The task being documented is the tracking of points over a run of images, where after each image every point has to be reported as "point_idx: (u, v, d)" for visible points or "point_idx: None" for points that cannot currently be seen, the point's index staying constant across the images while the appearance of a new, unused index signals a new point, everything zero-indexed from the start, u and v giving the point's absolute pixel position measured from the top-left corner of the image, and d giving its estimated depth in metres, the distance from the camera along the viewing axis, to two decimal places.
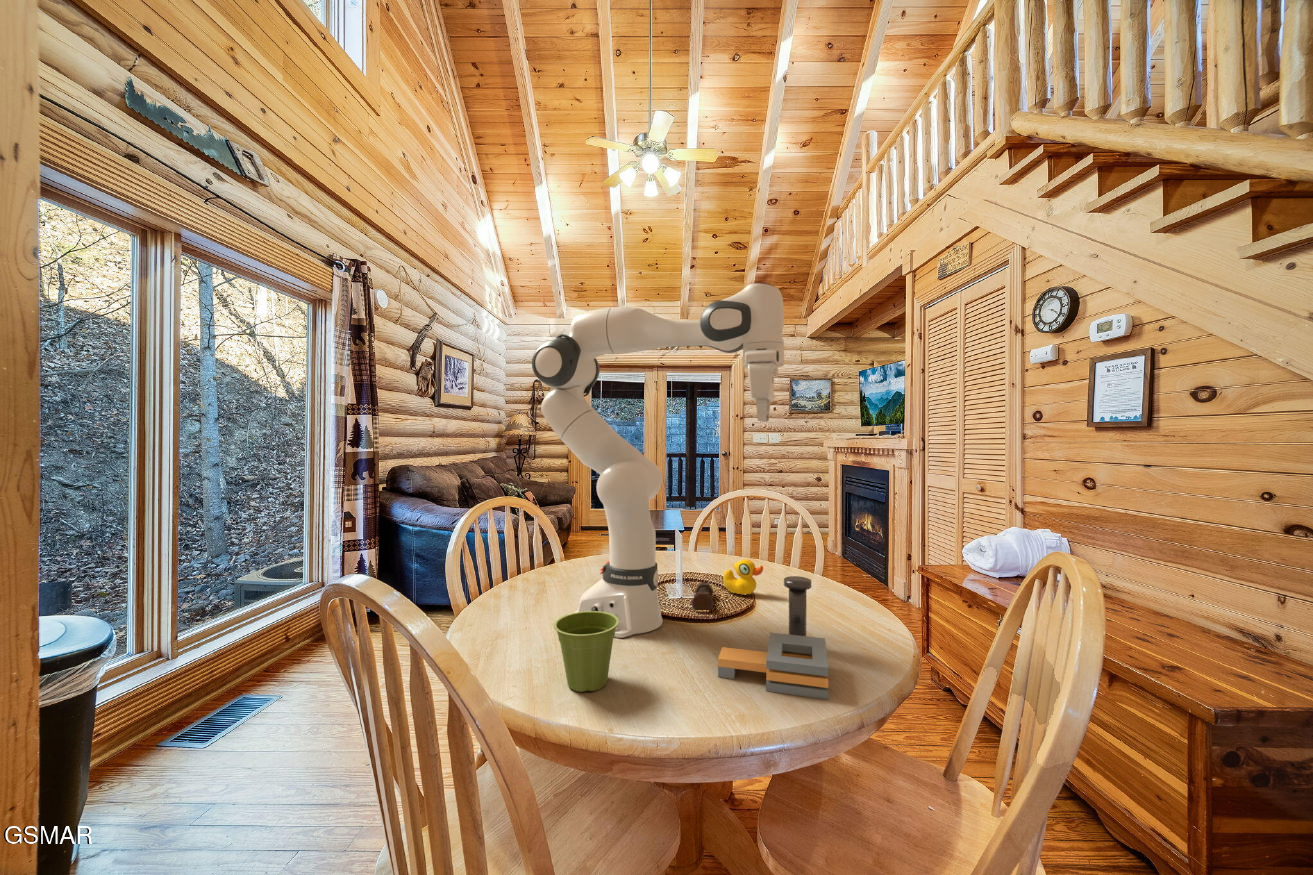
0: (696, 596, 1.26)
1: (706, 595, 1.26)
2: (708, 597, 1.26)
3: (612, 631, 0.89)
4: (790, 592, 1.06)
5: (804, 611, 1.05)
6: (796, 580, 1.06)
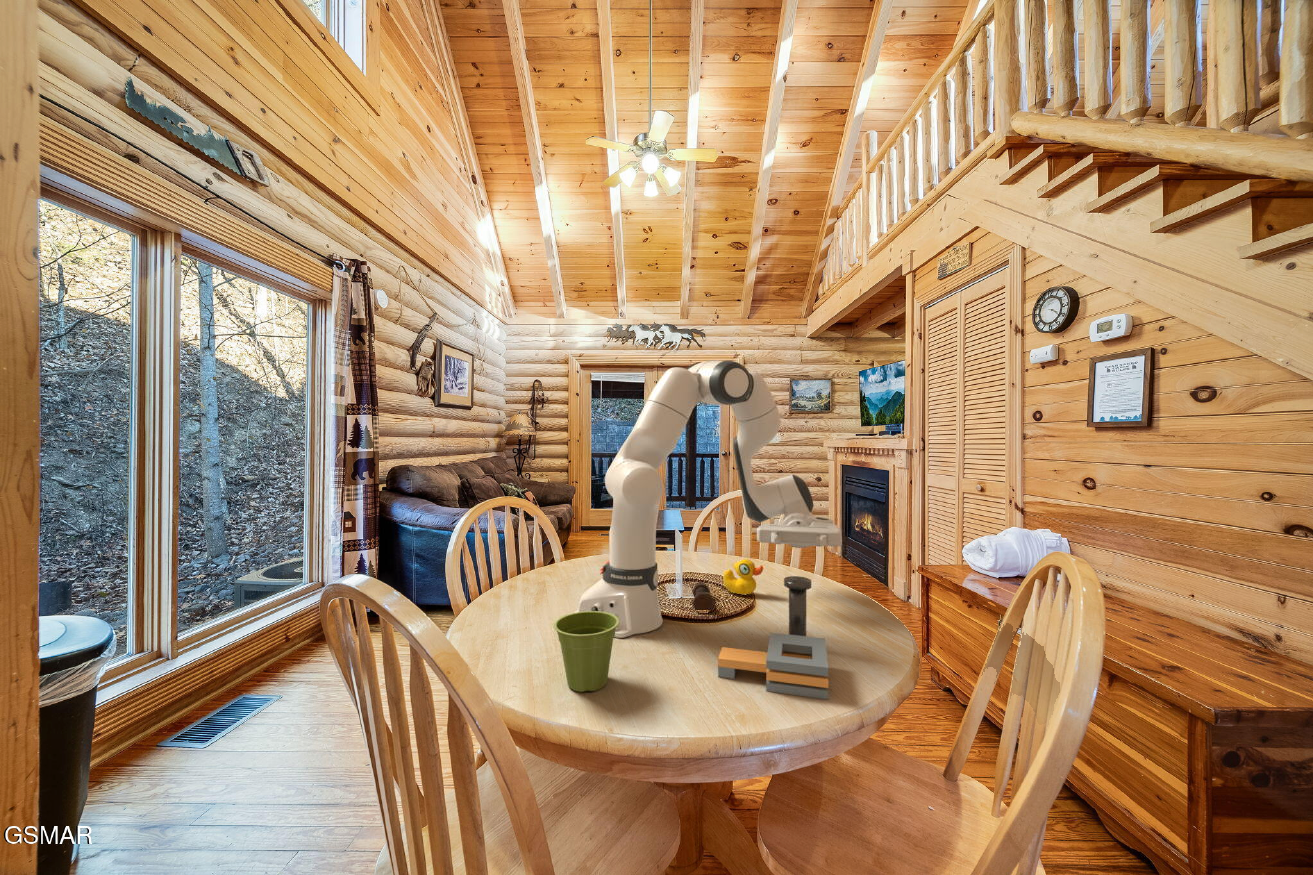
0: (697, 596, 1.26)
1: (707, 595, 1.26)
2: (709, 597, 1.26)
3: (612, 631, 0.89)
4: (790, 592, 1.06)
5: (804, 611, 1.05)
6: (796, 580, 1.06)
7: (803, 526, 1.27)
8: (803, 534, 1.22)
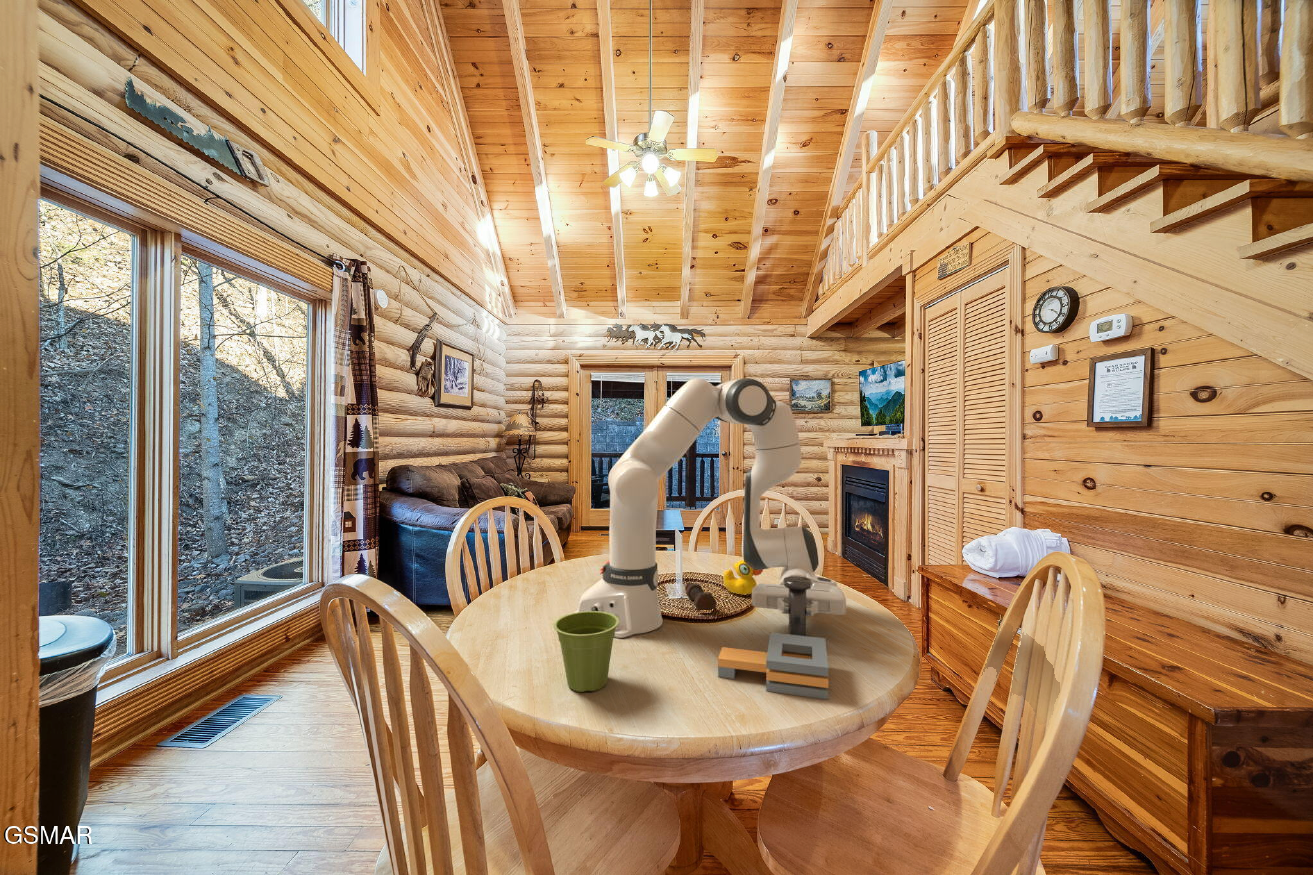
0: (700, 597, 1.25)
1: (709, 595, 1.26)
2: (711, 597, 1.26)
3: (612, 631, 0.89)
4: (790, 592, 1.06)
5: (804, 611, 1.05)
6: (795, 580, 1.06)
7: None
8: None
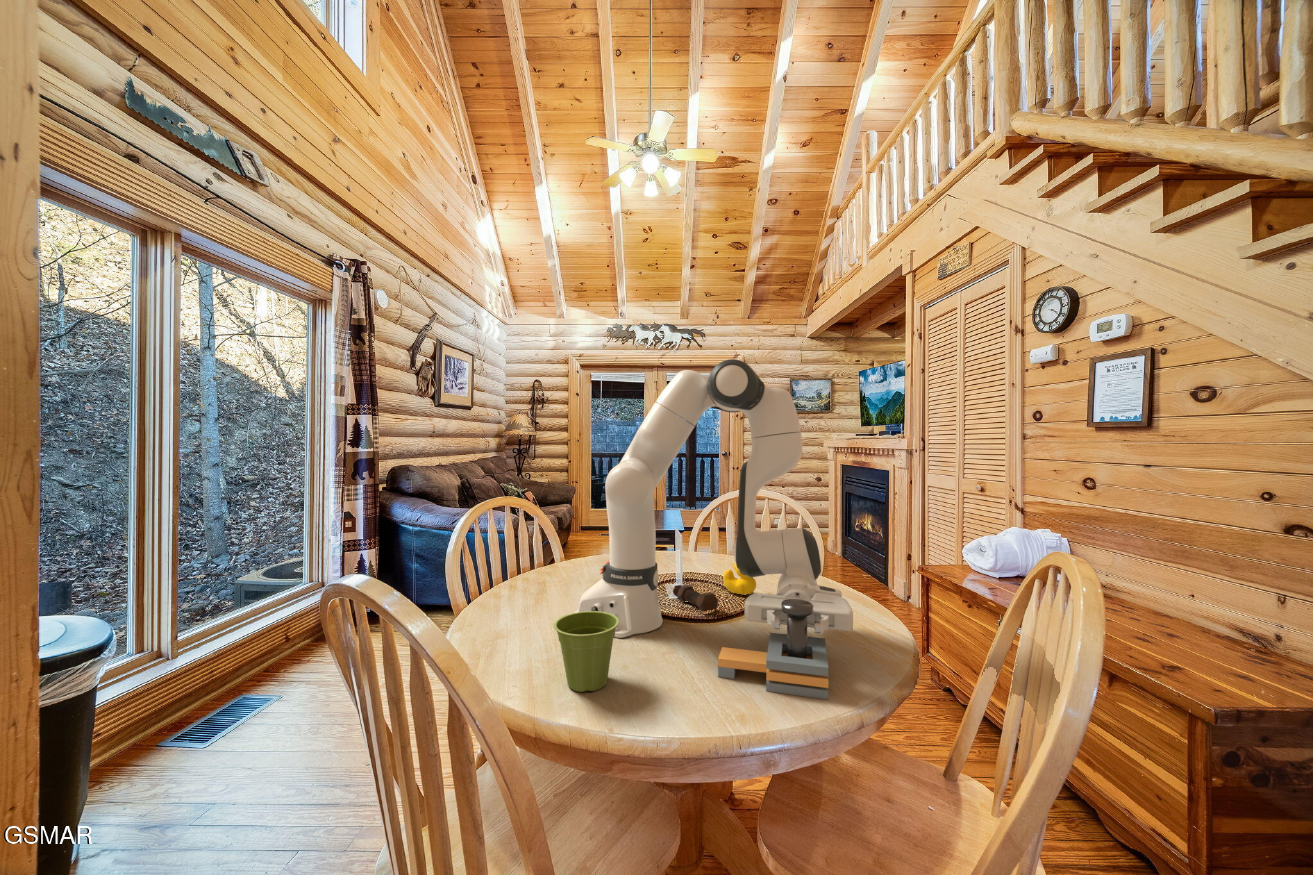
0: (704, 598, 1.24)
1: (712, 595, 1.26)
2: (714, 596, 1.26)
3: (612, 631, 0.89)
4: (788, 618, 0.91)
5: (805, 640, 0.90)
6: (795, 604, 0.91)
7: (803, 599, 1.00)
8: None
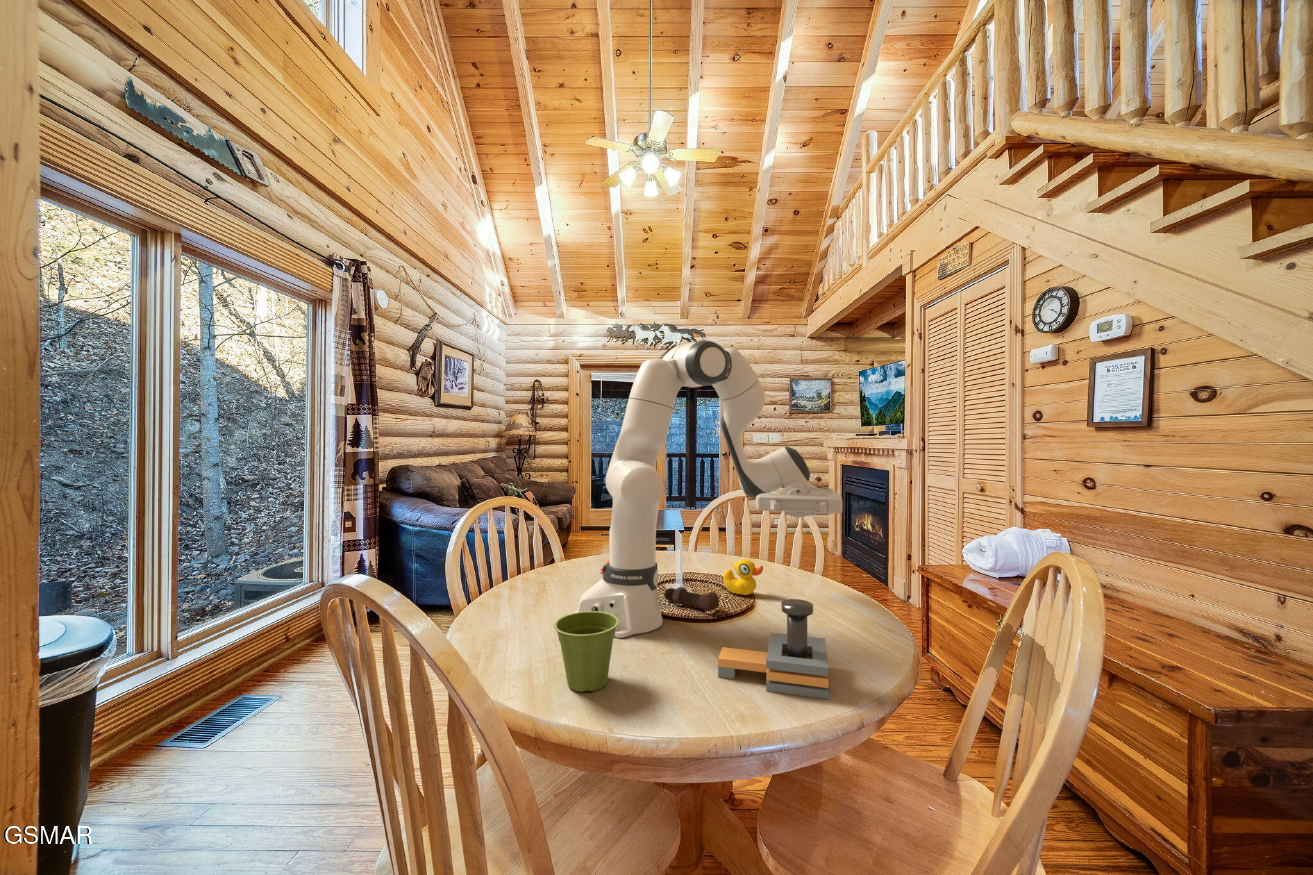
0: (709, 598, 1.24)
1: (715, 594, 1.26)
2: (716, 595, 1.27)
3: (612, 631, 0.89)
4: (788, 618, 0.91)
5: (805, 640, 0.90)
6: (795, 604, 0.91)
7: (803, 494, 1.25)
8: (803, 501, 1.20)
